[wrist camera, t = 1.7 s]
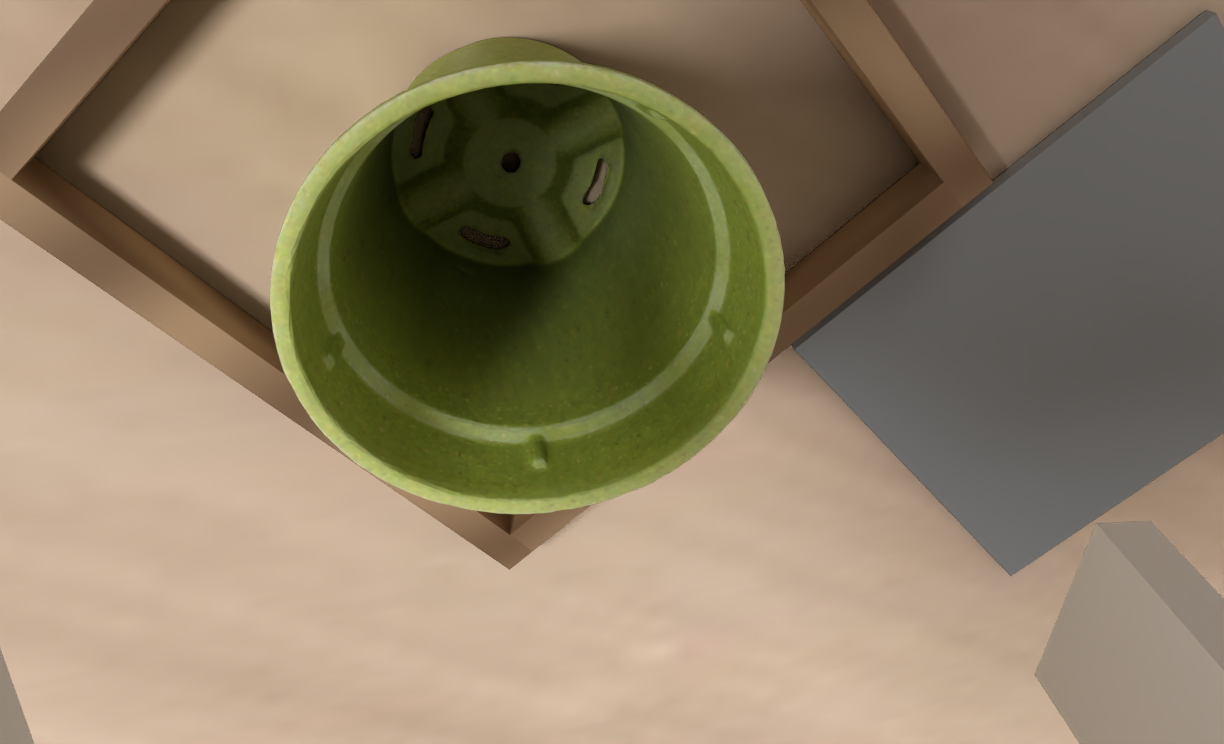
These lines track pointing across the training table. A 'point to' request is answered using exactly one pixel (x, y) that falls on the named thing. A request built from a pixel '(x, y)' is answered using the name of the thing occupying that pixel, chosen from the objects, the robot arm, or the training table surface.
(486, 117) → the plant pot
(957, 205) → the tray frame
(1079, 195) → the mat
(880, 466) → the training table surface
